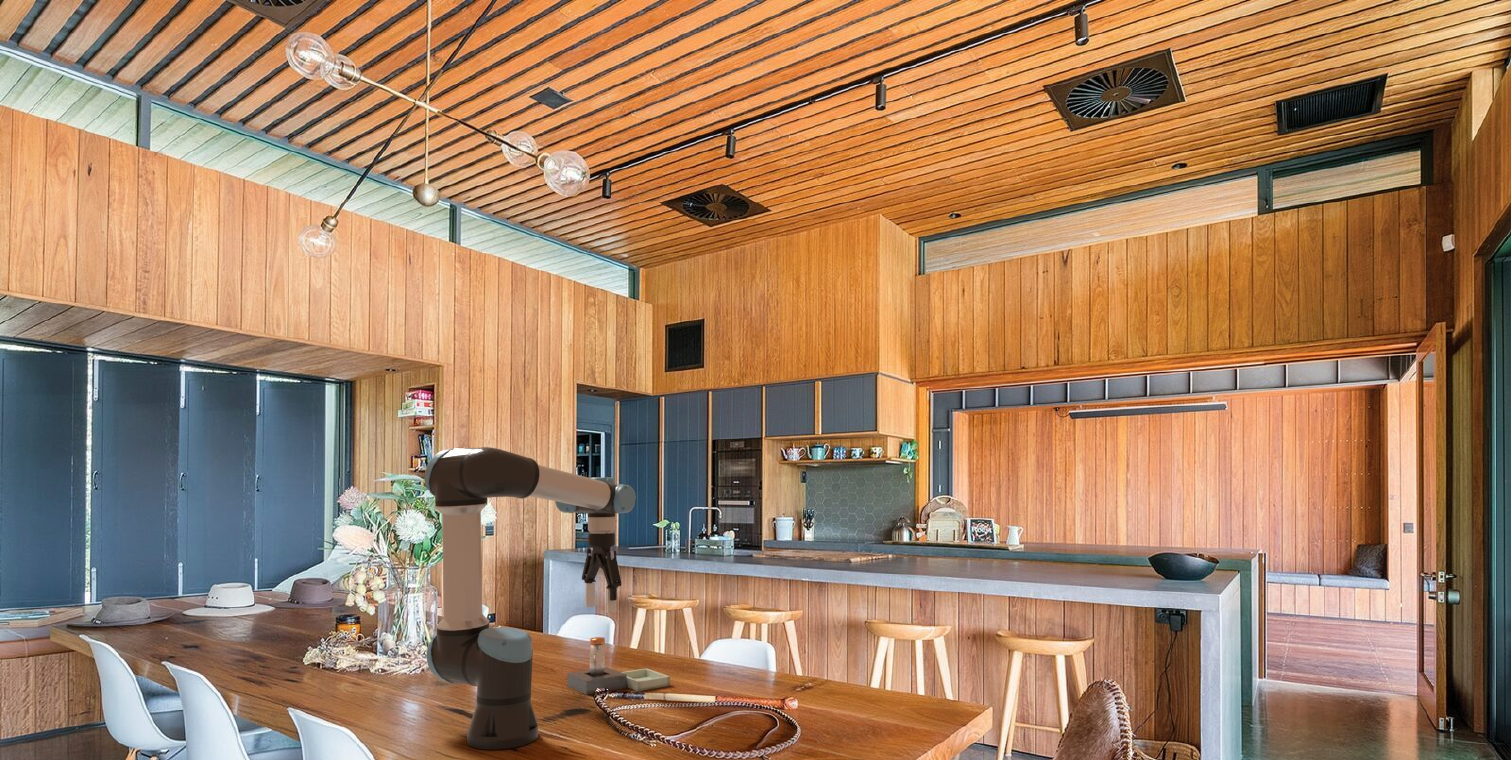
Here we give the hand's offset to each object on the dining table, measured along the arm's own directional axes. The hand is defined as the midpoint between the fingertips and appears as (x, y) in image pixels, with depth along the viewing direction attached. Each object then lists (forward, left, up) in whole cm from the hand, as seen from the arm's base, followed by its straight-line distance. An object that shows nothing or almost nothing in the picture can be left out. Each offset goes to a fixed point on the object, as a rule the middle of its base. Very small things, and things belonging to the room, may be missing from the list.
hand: (600, 609), depth 236 cm
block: (-1, +1, -21) cm, 21 cm away
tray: (+11, -4, -21) cm, 24 cm away
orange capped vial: (-1, +1, -21) cm, 21 cm away
